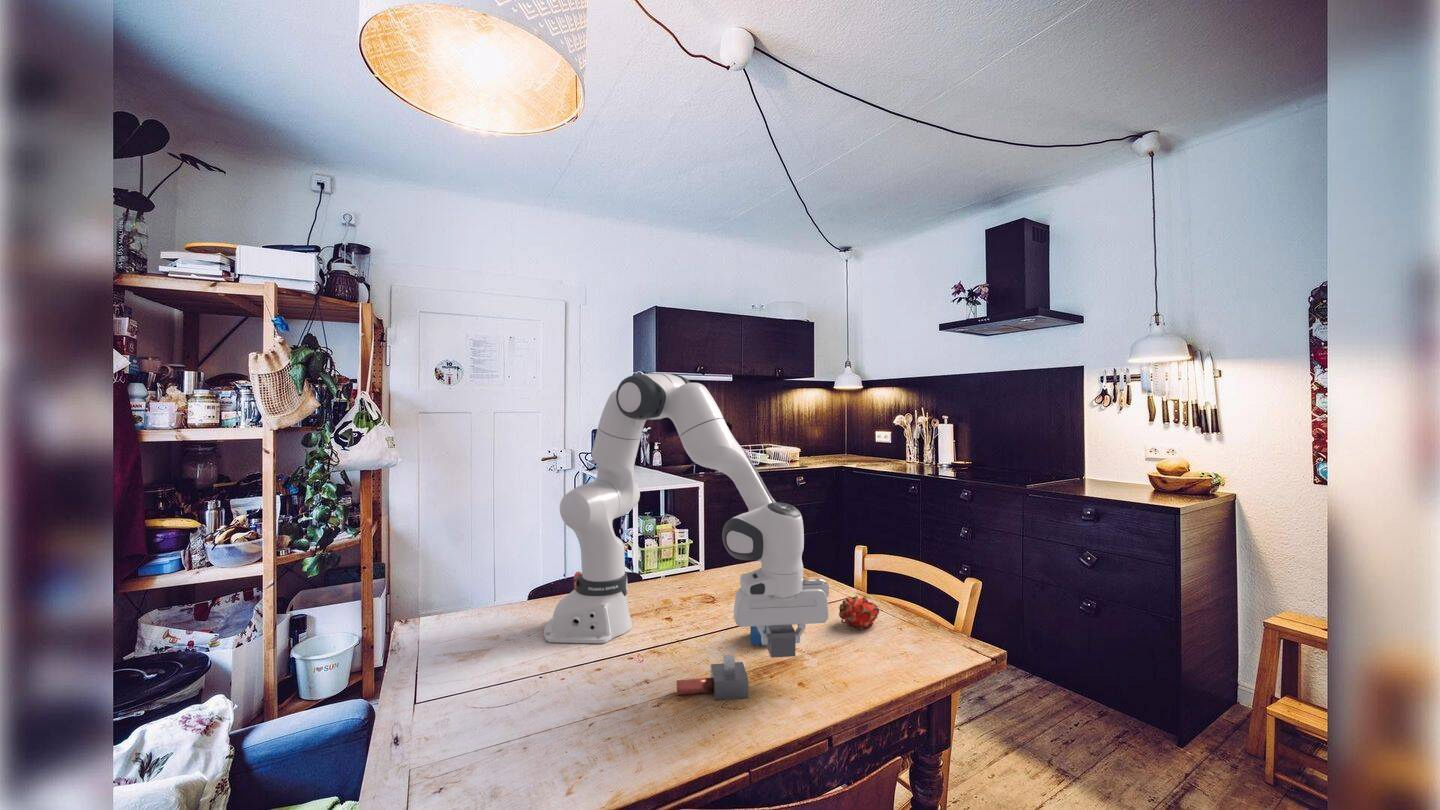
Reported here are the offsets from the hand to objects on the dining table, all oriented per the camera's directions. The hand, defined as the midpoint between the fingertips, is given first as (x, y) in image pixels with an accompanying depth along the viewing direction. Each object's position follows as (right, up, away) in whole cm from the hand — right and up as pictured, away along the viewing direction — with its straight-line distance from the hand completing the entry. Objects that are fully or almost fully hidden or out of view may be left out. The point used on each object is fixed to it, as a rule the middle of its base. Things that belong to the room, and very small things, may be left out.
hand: (780, 642), depth 126 cm
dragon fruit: (+23, -7, +28) cm, 37 cm away
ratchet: (-15, -9, -3) cm, 18 cm away
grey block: (0, -2, 0) cm, 2 cm away
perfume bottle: (-2, -8, +20) cm, 22 cm away
